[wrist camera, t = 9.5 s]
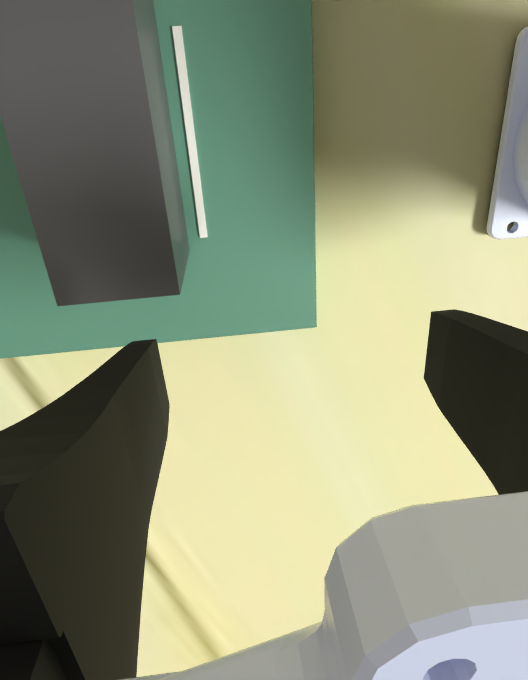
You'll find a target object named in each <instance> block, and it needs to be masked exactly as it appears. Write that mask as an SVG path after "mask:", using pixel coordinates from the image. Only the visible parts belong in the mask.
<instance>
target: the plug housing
mask: <svg viewBox="0 0 528 680" xmlns="http://www.w3.org/2000/svg"><path fill="white" fill-rule="evenodd" d="M0 116H1V120H2V123H3V126H4V130H5V133H6V136H7V140H8V143H9V146H10V150H11V153H12V156H13V160H14V163H15V166H16V170H17V173H18V176H19V180H20V183H21V186H22V190H23V193H24V196H25V200H26V203H27V206H28V210H29V213H30V216H31V220H32V223H33V227H34V230H35V233H36V237H37V240H38V243H39V247H40V250H41V253H42V257H43V260H44V263H45V267H46V270H47V273H48V277H49V280H50V283H51V287H52V290H53V293H54V297H55V300H56V303H57V306H67V305H78V304H88V303H99V302H109V301H120V300H130V299H141V298H151V297H162V296H173V295H180V293H181V288H182V284H183V279H184V274H185V270H186V265H187V260H188V256H189V251H190V249H189V242H188V235H187V229H186V222H185V215H184V208H183V201H182V194H181V187H180V181H179V174H178V167H177V160H176V153H175V146H174V139H173V132H172V126H171V119H170V112H169V105H168V98H167V91H166V84H165V78H164V71H163V64H162V57H161V50H160V43H159V36H158V30H157V23H156V16H155V9H154V2H153V0H0Z"/></svg>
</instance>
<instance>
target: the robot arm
mask: <svg viewBox="0 0 528 680" xmlns="http://www.w3.org/2000/svg"><path fill="white" fill-rule="evenodd" d="M510 222H513V227H512V228H511V229H510V230H509V231H507V226H508V224H509V223H510ZM487 233H488V235H489V236H491V237H492V238H495V239H508V238H518V237H528V26H527V27H525V28H524V29H523V30H521V32H520V33H519V35H518V37H517V40H516V44H515V50H514V56H513V63H512V69H511V76H510V82H509V88H508V95H507V101H506V107H505V114H504V120H503V126H502V133H501V139H500V145H499V152H498V158H497V165H496V171H495V177H494V184H493V190H492V196H491V203H490V209H489V215H488V222H487ZM424 379H425V382H426V384H427V386H428V388H429V390H430V392H431V394H432V396H433V398H434V400H435V402H436V404H437V406H438V407H439V409H440V410H441V412H442V413H443V415H444V416H445V418H446V419H447V420H448V422H449V423H450V425H451V426H452V427H453V429H454V430H455V432H456V433H457V434H458V436H459V437H460V439H461V440H462V441H463V443H464V444H465V445H466V447H467V448H468V450H469V451H470V452H471V454H472V455H473V456H474V458H475V459H476V461H477V462H478V463H479V465H480V466H481V467H482V469H483V470H484V472H485V473H486V475H487V476H488V478H489V479H490V481H491V482H492V484H493V485H494V487H495V489H496V490H497V492H498V494H499V495H494V496H485V497H477V498H468V499H460V500H452V501H443V502H435V503H427V504H418V505H412V506H409V507H405V508H402V509H399V510H396V511H392V512H389V513H386V514H383V515H379V516H376V517H373V518H371V519H370V520H369V521H367V522H366V523H365V524H364V525H362V526H361V527H360V528H359V529H357V530H356V531H355V532H354V533H353V534H351V535H350V536H349V537H348V538H346V539H345V540H344V541H343V542H341V543H340V544H339V545H338V546H337V547H336V550H335V552H334V555H333V558H332V560H331V563H330V566H329V568H328V571H327V573H326V576H325V611H324V616H323V621H322V622H320V623H317V624H314V625H311V626H308V627H306V628H303V629H300V630H297V631H294V632H291V633H289V634H286V635H283V636H280V637H277V638H275V639H272V640H269V641H266V642H263V643H260V644H258V645H255V646H252V647H249V648H246V649H244V650H241V651H238V652H235V653H232V654H229V655H227V656H224V657H221V658H218V659H215V660H213V661H210V662H207V663H204V664H201V665H198V666H196V667H193V668H190V669H187V670H184V671H181V672H173V673H166V674H158V675H151V676H143V677H136V673H137V656H138V642H139V627H140V613H141V600H142V589H143V578H144V566H145V556H146V547H147V537H148V528H149V522H150V516H151V510H152V505H153V501H154V496H155V492H156V487H157V483H158V478H159V473H160V469H161V464H162V460H163V455H164V450H165V446H166V441H167V434H168V421H169V400H168V395H167V390H166V385H165V380H164V375H163V370H162V365H161V360H160V355H159V350H158V345H157V340H156V339H151V340H140V341H132V342H131V343H129V344H128V345H126V346H125V347H124V348H122V349H121V350H120V351H119V352H117V353H116V354H115V355H114V356H113V357H111V358H110V359H109V360H108V361H107V362H105V363H104V364H103V365H102V366H100V367H99V368H98V369H97V370H96V371H94V372H93V373H92V374H91V375H89V376H88V377H87V378H85V379H84V380H83V381H81V382H80V383H79V384H77V385H76V386H75V387H73V388H72V389H70V390H69V391H68V392H66V393H65V394H64V395H62V396H61V397H59V398H58V399H56V400H55V401H53V402H52V403H50V404H49V405H47V406H46V407H44V408H42V409H41V410H39V411H37V412H35V413H34V414H32V415H30V416H29V417H27V418H25V419H23V420H22V421H20V422H18V423H16V424H14V425H12V426H10V427H8V428H6V429H4V430H2V431H0V680H528V332H527V331H524V330H521V329H518V328H515V327H512V326H509V325H506V324H503V323H500V322H497V321H494V320H491V319H488V318H485V317H482V316H479V315H475V314H472V313H468V312H464V311H460V310H445V311H435V312H431V319H430V328H429V337H428V346H427V355H426V364H425V373H424Z"/></svg>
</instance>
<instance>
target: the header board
mask: <svg viewBox="0 0 528 680" xmlns="http://www.w3.org/2000/svg"><path fill="white" fill-rule="evenodd" d="M153 2H154V9H155V16H156V23H157V30H158V36H159V43H160V50H161V57H162V64H163V71H164V78H165V84H166V91H167V98H168V105H169V112H170V119H171V126H172V132H173V139H174V146H175V153H176V160H177V167H178V174H179V181H180V187H181V194H182V201H183V208H184V215H185V222H186V229H187V235H188V242H189V249H190V251H189V256H188V260H187V265H186V270H185V274H184V279H183V284H182V288H181V293H180V295H173V296H162V297H151V298H141V299H130V300H120V301H109V302H99V303H88V304H78V305H67V306H57V303H56V300H55V297H54V293H53V290H52V287H51V283H50V280H49V277H48V273H47V270H46V267H45V263H44V260H43V257H42V253H41V250H40V247H39V243H38V240H37V237H36V233H35V230H34V227H33V223H32V220H31V216H30V213H29V210H28V206H27V203H26V200H25V196H24V193H23V190H22V186H21V183H20V180H19V176H18V173H17V170H16V166H15V163H14V160H13V156H12V153H11V150H10V146H9V143H8V140H7V136H6V133H5V130H4V126H3V123H2V120H1V116H0V358H10V357H20V356H30V355H41V354H51V353H61V352H71V351H81V350H91V349H101V348H111V347H121V346H126V345H128V344H129V343H131V342H132V341H140V340H151V339H156V340H157V343H162V342H172V341H182V340H192V339H202V338H212V337H222V336H232V335H243V334H253V333H263V332H273V331H283V330H293V329H303V328H313V327H317V323H316V258H315V192H314V127H313V61H312V0H153Z"/></svg>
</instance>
